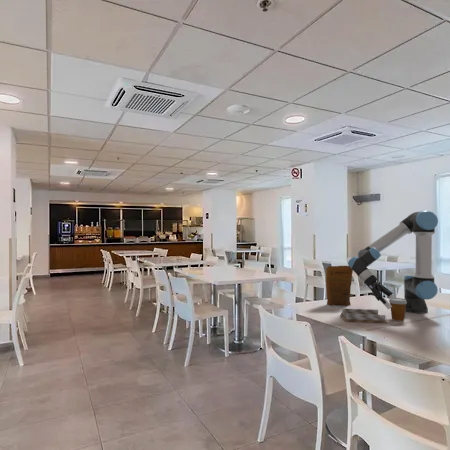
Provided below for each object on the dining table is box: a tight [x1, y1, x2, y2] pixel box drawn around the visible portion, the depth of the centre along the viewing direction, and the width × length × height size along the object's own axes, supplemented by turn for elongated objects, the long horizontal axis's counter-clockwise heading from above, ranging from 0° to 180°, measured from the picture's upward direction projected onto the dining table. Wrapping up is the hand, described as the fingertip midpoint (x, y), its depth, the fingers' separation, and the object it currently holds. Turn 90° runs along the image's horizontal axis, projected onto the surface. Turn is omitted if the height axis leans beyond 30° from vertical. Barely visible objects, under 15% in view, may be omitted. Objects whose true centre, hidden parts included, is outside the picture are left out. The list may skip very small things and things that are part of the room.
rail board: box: [340, 307, 388, 324], centre depth 203 cm, size 22×17×4 cm
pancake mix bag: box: [325, 265, 354, 307], centre depth 242 cm, size 7×19×28 cm, turn 83°
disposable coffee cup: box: [388, 297, 407, 322], centre depth 202 cm, size 10×10×12 cm
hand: (394, 306), depth 202 cm, fingers open, 13 cm apart
